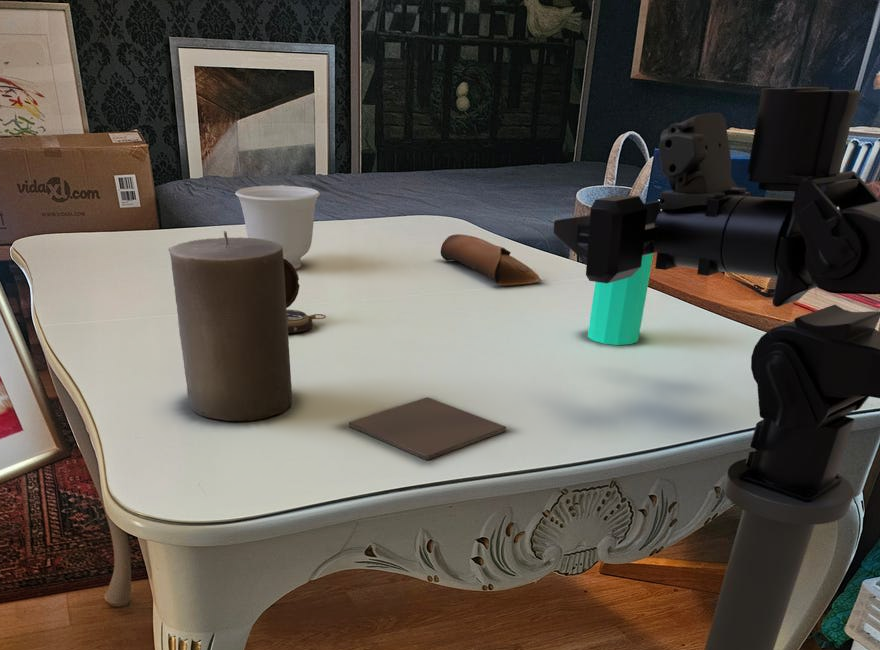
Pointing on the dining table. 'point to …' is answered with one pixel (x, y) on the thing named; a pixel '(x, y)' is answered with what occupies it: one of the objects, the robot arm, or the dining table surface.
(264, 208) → the teacup
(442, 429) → the mat
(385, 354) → the dining table surface
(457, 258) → the sunglasses case
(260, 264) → the pillar candle
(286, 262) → the compass
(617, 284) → the candle
